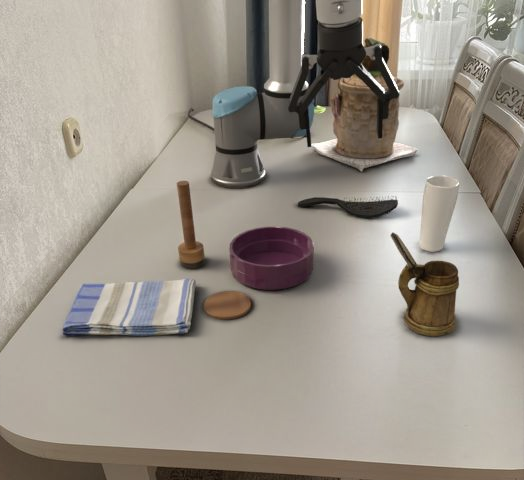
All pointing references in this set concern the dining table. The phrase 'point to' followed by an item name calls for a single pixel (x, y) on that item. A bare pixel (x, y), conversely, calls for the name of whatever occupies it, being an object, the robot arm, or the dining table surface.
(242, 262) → the bowl
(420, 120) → the dining table surface
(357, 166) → the cookie jar
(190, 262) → the dish brush
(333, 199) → the hairbrush
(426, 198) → the white tumbler
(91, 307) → the dish towel
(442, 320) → the wooden mug
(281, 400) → the dining table surface
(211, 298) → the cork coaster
